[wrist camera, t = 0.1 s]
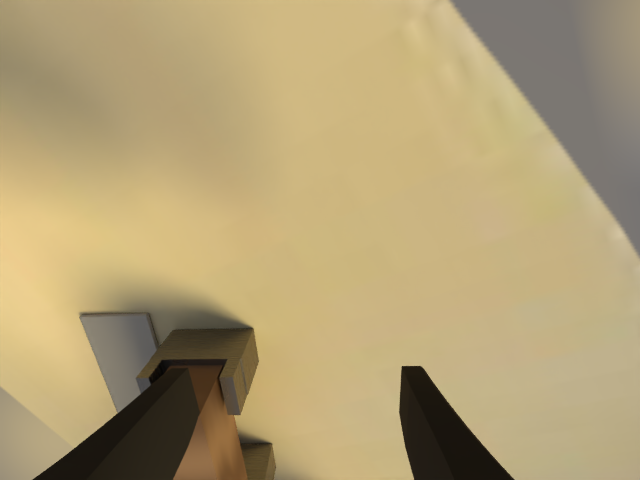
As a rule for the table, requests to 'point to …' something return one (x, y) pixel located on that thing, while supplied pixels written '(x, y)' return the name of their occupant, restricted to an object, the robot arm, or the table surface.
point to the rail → (211, 432)
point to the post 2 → (259, 461)
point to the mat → (121, 350)
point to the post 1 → (209, 360)
